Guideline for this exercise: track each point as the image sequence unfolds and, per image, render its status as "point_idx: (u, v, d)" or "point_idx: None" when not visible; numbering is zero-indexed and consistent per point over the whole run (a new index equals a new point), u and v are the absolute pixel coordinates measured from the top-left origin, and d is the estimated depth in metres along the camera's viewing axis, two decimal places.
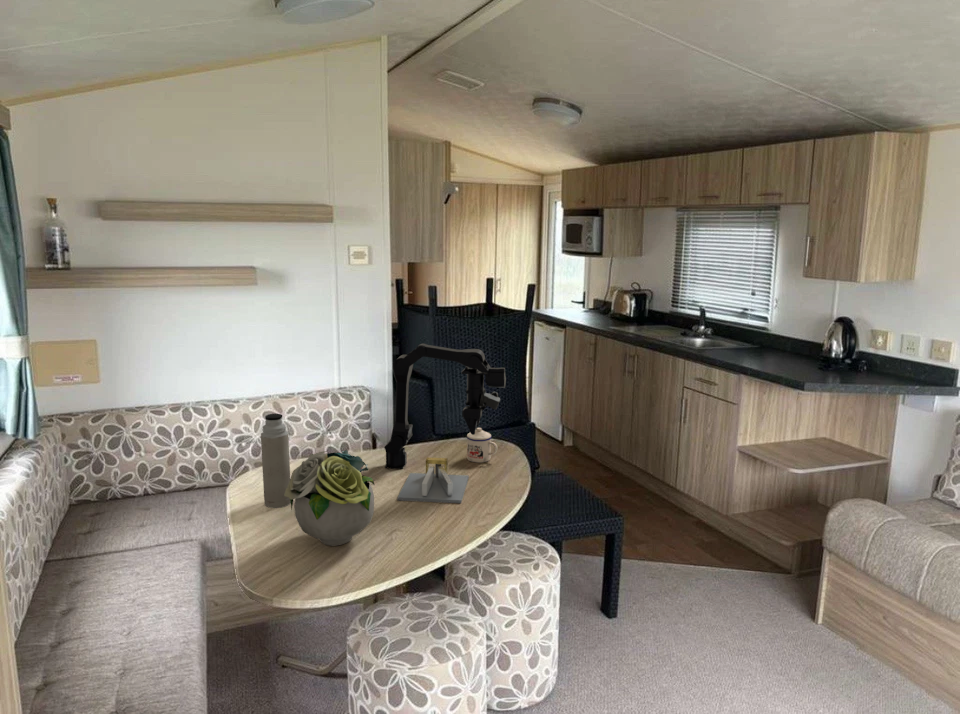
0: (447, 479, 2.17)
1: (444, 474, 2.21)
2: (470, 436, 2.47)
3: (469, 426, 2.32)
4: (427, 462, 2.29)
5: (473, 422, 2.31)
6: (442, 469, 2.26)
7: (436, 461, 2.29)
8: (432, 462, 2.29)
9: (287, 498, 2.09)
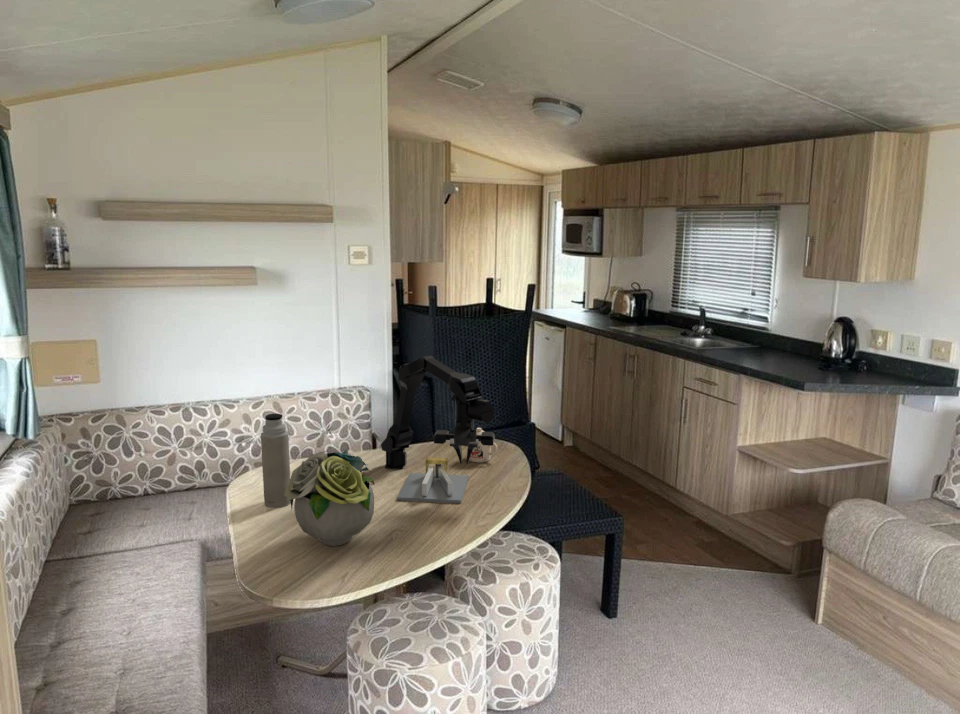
0: (447, 479, 2.17)
1: (444, 474, 2.21)
2: None
3: None
4: (427, 462, 2.29)
5: None
6: (442, 469, 2.26)
7: (436, 461, 2.29)
8: (432, 462, 2.29)
9: (287, 498, 2.09)
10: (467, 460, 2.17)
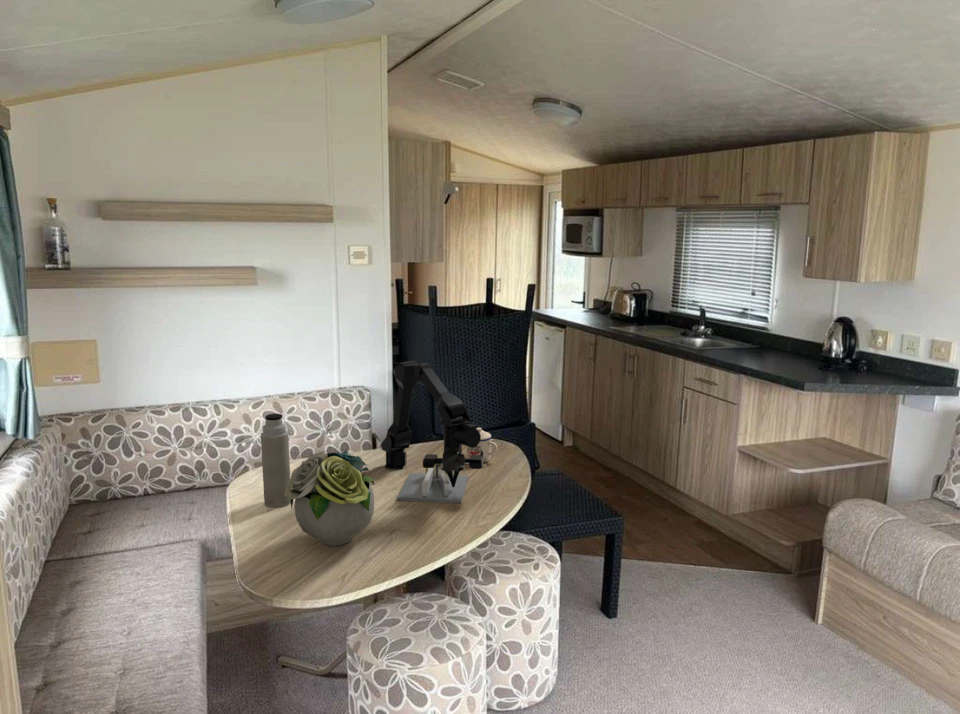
0: (444, 479, 2.17)
1: (442, 474, 2.21)
2: None
3: None
4: None
5: None
6: None
7: None
8: None
9: (287, 498, 2.09)
10: (454, 483, 2.19)
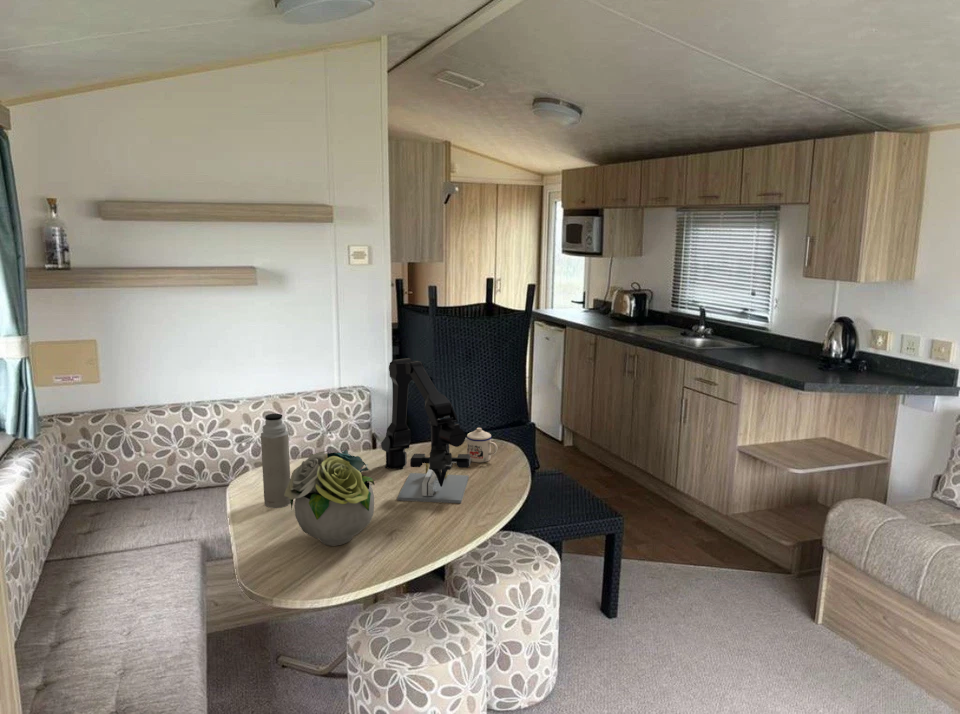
0: (431, 479, 2.17)
1: (433, 474, 2.21)
2: (470, 436, 2.47)
3: None
4: None
5: None
6: None
7: None
8: None
9: (287, 498, 2.09)
10: (441, 483, 2.19)
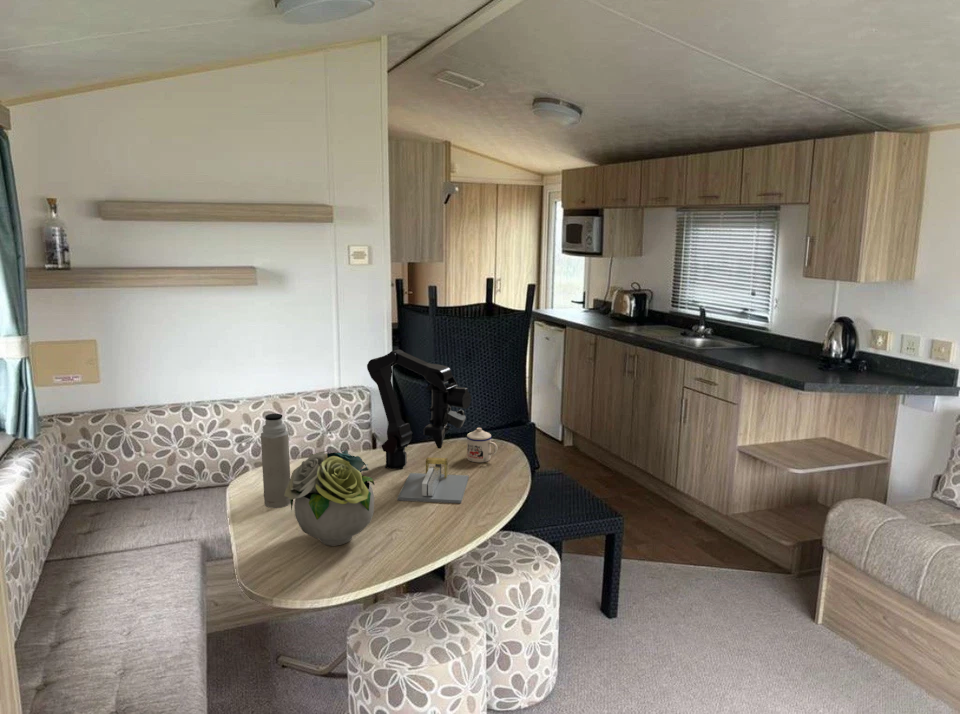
0: (431, 479, 2.17)
1: (433, 474, 2.21)
2: (470, 436, 2.47)
3: (435, 440, 2.32)
4: (427, 462, 2.29)
5: (439, 436, 2.31)
6: (436, 469, 2.25)
7: (436, 461, 2.29)
8: (432, 462, 2.29)
9: (287, 498, 2.09)
10: None
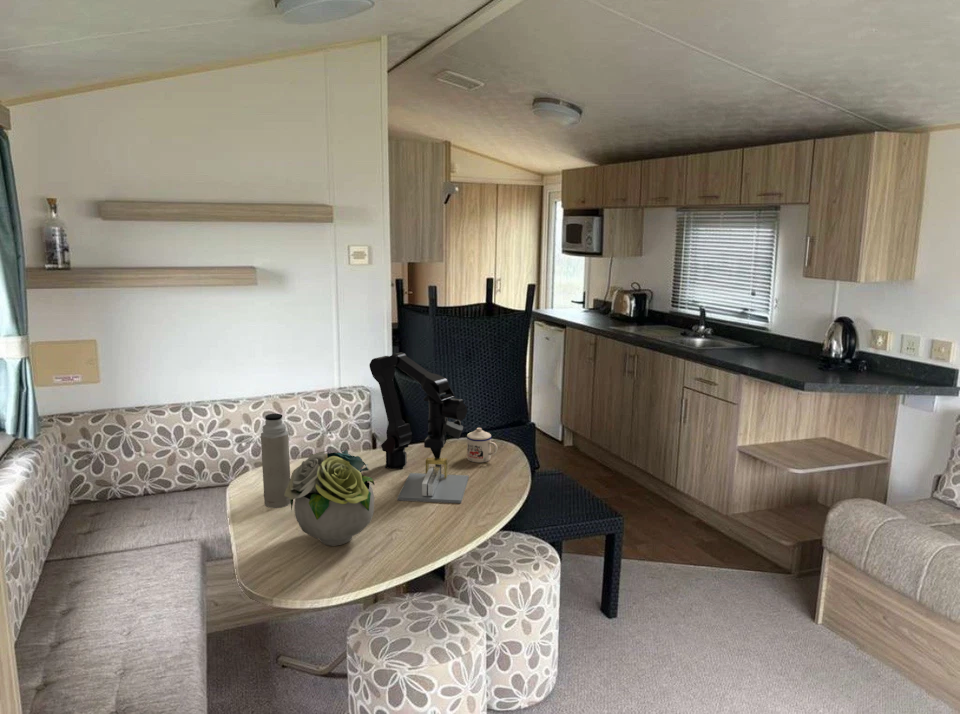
0: (431, 479, 2.17)
1: (433, 474, 2.21)
2: (470, 436, 2.47)
3: (433, 452, 2.30)
4: (427, 462, 2.29)
5: (437, 448, 2.29)
6: (436, 469, 2.25)
7: (436, 461, 2.28)
8: (432, 462, 2.29)
9: (287, 498, 2.09)
10: None
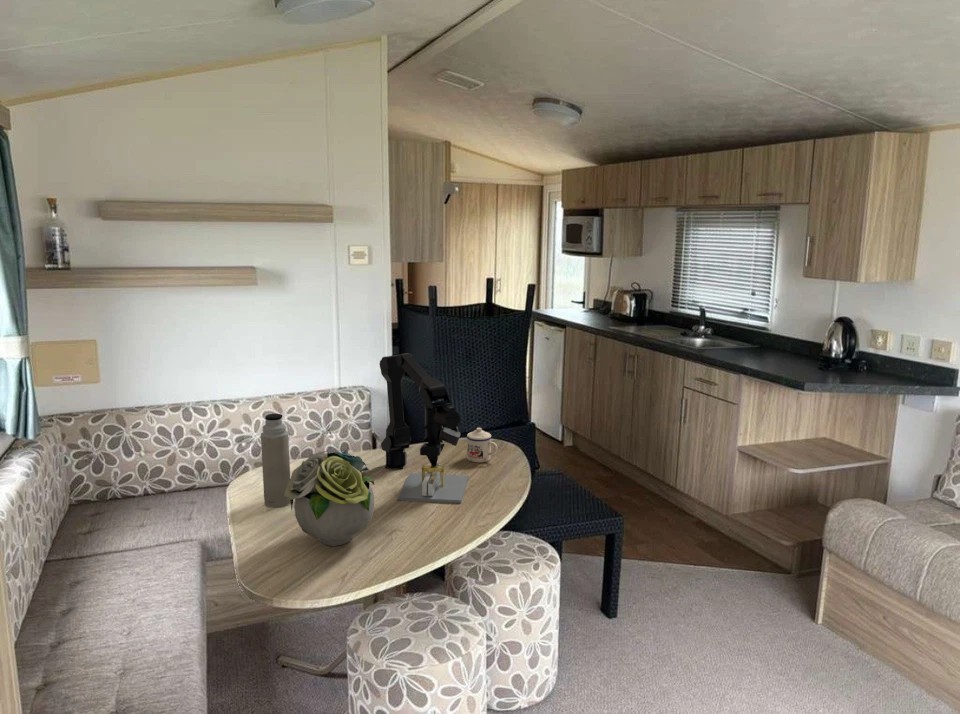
0: (431, 479, 2.17)
1: (433, 474, 2.21)
2: (470, 436, 2.47)
3: (430, 459, 2.23)
4: (423, 470, 2.22)
5: (434, 455, 2.22)
6: None
7: (432, 469, 2.21)
8: (428, 470, 2.21)
9: (287, 498, 2.09)
10: (436, 463, 2.25)
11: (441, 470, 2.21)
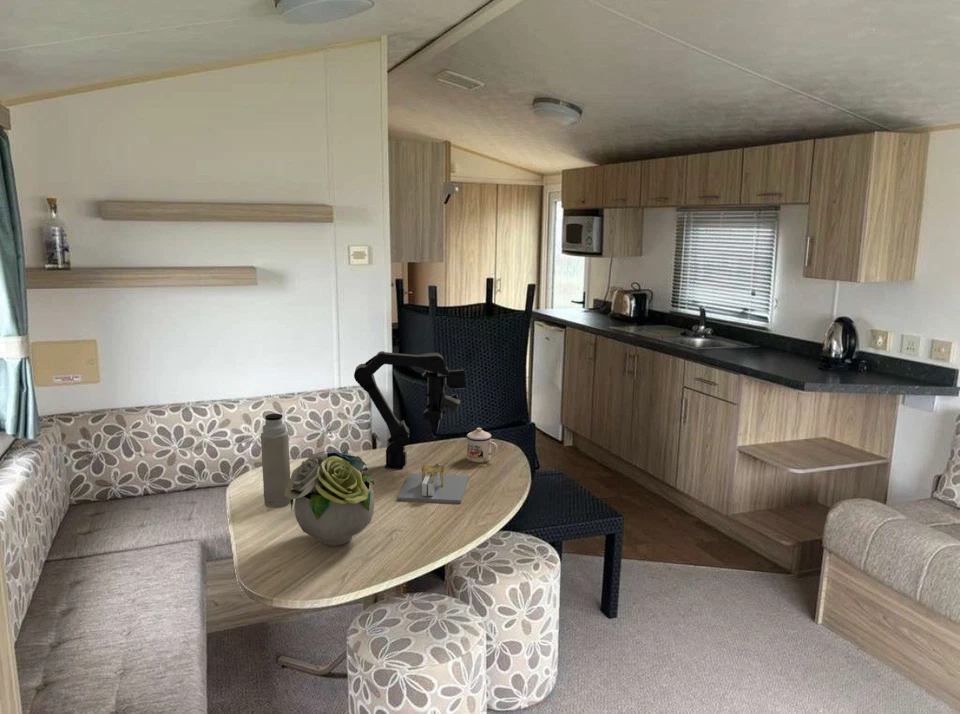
0: (431, 479, 2.17)
1: (433, 474, 2.21)
2: (470, 436, 2.47)
3: (432, 424, 2.41)
4: (423, 470, 2.22)
5: (436, 420, 2.41)
6: None
7: (432, 469, 2.21)
8: (428, 470, 2.21)
9: (287, 498, 2.09)
10: None
11: (441, 470, 2.21)
